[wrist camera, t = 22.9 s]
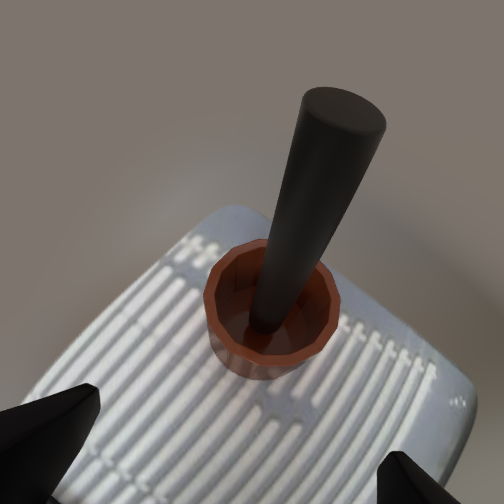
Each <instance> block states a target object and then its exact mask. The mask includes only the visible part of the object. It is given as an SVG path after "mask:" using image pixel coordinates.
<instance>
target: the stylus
mask: <svg viewBox="0 0 504 504" xmlns="http://www.w3.org/2000/svg"><path fill="white" fill-rule="evenodd" d="M385 130H386V119H385V117H384V115H383V114H382V113H381V111H380V110H379V109H378V108H377V107H376V106H375V105H373V104H372V103H371V102H369V101H368V100H366V99H364V98H363V97H361V96H359V95H356V94H354V93H352V92H349V91H346V90H342V89H338V88H333V87H317V88H313V89H310V90H308V91H307V92H306V93H305V94H304V96H303V98H302V102H301V106H300V110H299V115H298V119H297V123H296V128H295V132H294V136H293V140H292V145H291V148H290V153H289V157H288V161H287V165H286V169H285V174H284V177H283V181H282V185H281V190H280V194H279V198H278V202H277V206H276V210H275V214H274V218H273V222H272V226H271V230H270V234H269V238H268V242H267V246H266V250H265V254H264V258H263V262H262V266H261V270H260V274H259V278H258V282H257V286H256V289H255V293H254V297H253V301H252V305H251V309H250V313H249V324H250V326H251V328H252V329H253V330H254V331H255V333H257V334H258V335H270V334H273V333H275V332H276V331H277V330H278V329H279V328H280V326H281V325H282V323H283V321H284V320H285V318H286V317H287V315H288V313H289V312H290V310H291V308H292V307H293V305H294V303H295V301H296V300H297V298H298V296H299V295H300V293H301V291H302V290H303V288H304V286H305V284H306V283H307V281H308V279H309V277H310V276H311V274H312V272H313V270H314V269H315V267H316V265H317V263H318V262H319V260H320V258H321V256H322V254H323V253H324V251H325V249H326V247H327V245H328V243H329V242H330V240H331V238H332V236H333V234H334V232H335V231H336V229H337V227H338V225H339V223H340V221H341V219H342V217H343V215H344V214H345V212H346V210H347V208H348V206H349V204H350V202H351V200H352V198H353V196H354V194H355V192H356V190H357V188H358V186H359V184H360V182H361V181H362V179H363V176H364V174H365V172H366V170H367V168H368V166H369V164H370V162H371V160H372V158H373V156H374V154H375V152H376V150H377V148H378V146H379V143H380V141H381V139H382V137H383V135H384V133H385Z"/></svg>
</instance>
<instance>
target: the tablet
mask: <svg viewBox="0 0 504 504" xmlns="http://www.w3.org/2000/svg"><path fill="white" fill-rule="evenodd" d="M46 504H61V503H59V502H58V501H57V500H56V499H55V498H53V497H52V496H51V497H50V498H49V500H48V501H47V503H46Z"/></svg>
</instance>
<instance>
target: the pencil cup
mask: <svg viewBox="0 0 504 504" xmlns="http://www.w3.org/2000/svg"><path fill="white" fill-rule="evenodd" d="M267 242H268V239H257V240H254V241H251V242H248V243H245V244H243V245H240V246H237V247H234V248H232V249H231V250H230V251H229V252H228V253H227V254H225V255H224V256H223V257H222V258H221V259H220V260H219V261H218V262H217V263H216V264H215V265H214V266H213V268H212V269H211V272H210V275H209V278H208V281H207V284H206V287H205V290H204V293H203V299H204V307H205V314H206V321H207V327H208V333H209V339H210V344H211V347H212V349H213V351H214V352H215V354H216V356H217V357H218V359H219V360H220V361H221V362H222V363H223V364H224V365H225V366H226V367H227V368H228V369H229V370H231V371H232V372H234V373H236V374H237V375H240V376H242V377H245V378H248V379H253V380H270V379H277V378H279V377H281V376H283V375H286V374H287V373H289V372H291V371H293V370H295V369H297V368H298V367H300V366H301V365H303V364H304V363H305V362H307V361H308V360H310V359H311V358H312V357H314V356H315V355H316V354H318V353H319V352H320V351H322V349H323V348H324V346H325V345H326V344H327V342H328V341H329V339H330V338H331V336H332V335H333V333H334V332H335V330H336V329H337V326H338V320H339V311H340V302H341V299H340V295H339V293H338V290H337V287H336V284H335V281H334V279H333V276H332V274H331V272H330V271H329V270H328V269H327V268H326V267H325V265H324V264H323V263H322V262H321V261H320V260H319V262H318V263H317V265H316V267H315V269H314V270H313V272H312V274H311V276H310V277H309V279H308V281H307V283H306V284H305V286H304V288H303V290H302V291H301V293H300V295H299V296H298V298H297V300H296V301H295V303H294V305H293V307H292V308H291V310H290V312H289V313H288V315H287V317H286V318H285V320H284V321H283V323H282V325H281V326H280V328H279V329H278V330H277V331H276V332H275V333H273V334H270V335H258V334H257V333H255V331H254V330H253V329H252V328H251V326H250V324H249V313H250V309H251V305H252V301H253V297H254V293H255V289H256V286H257V282H258V278H259V274H260V270H261V266H262V262H263V258H264V254H265V250H266V246H267Z"/></svg>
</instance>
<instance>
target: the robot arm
mask: <svg viewBox="0 0 504 504" xmlns="http://www.w3.org/2000/svg"><path fill="white" fill-rule="evenodd" d="M100 409H101V404H100V394H99V389H98V388H97V387H95V386H93V385H91V384H89V383H84V384H81V385H79V386H76V387H73V388H70V389H67V390H65V391H62V392H59V393H56V394H53V395H50V396H47V397H44V398H41V399H38V400H35V401H32V402H29V403H26V404H23V405H20V406H17V407H14V408H10V409H7V410H4V411H1V412H0V504H46V503H47V501H48V500H49V498H50V497H51V495H52V493H53V492H54V490H55V489H56V487H57V486H58V484H59V483H60V481H61V479H62V478H63V476H64V475H65V473H66V472H67V470H68V469H69V467H70V466H71V464H72V463H73V461H74V460H75V458H76V456H77V455H78V453H79V452H80V450H81V449H82V447H83V445H84V443H85V441H86V439H87V437H88V435H89V433H90V431H91V428H92V426H93V424H94V422H95V420H96V418H97V416H98V414H99V412H100ZM377 504H461V503H460V502H458V501H457V500H456V499H455V498H454V497H453V496H451V495H450V494H449V493H448V492H447V491H446V490H445V489H444V488H443V487H441V486H440V485H439V484H438V483H437V482H436V481H435V480H434V479H433V478H431V477H430V476H429V475H428V474H427V473H426V472H425V471H424V470H423V469H422V468H420V467H419V466H418V465H417V464H416V463H415V462H414V461H413V460H412V459H411V458H410V457H409V456H407V455H406V454H405V453H404V452H403V451H391V452H390V453H389V454H388V455H387V456H386V458H385V459H384V460H383V461H382V463H381V464H380V465H379V467H378V469H377Z"/></svg>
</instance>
